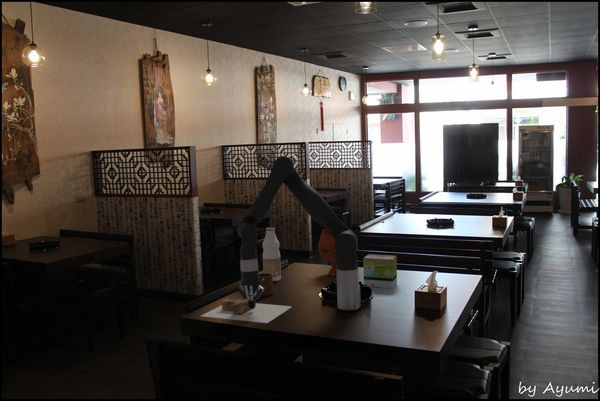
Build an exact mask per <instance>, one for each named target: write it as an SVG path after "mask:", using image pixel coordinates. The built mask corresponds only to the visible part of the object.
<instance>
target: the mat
mask: <svg viewBox="0 0 600 401" xmlns="http://www.w3.org/2000/svg"><path fill="white" fill-rule="evenodd" d="M291 308H293V306H290V305H280V304H279V305H278V304H270V303H268V304H267V303H257V302H256V307H255V308H254V309H251V310H249V311H248V312H246V313H244V314H242V315H235V314H233V311H226V310H222V304H221V305H219V306H217V307H216V308H214V309H211V310H209V311H208V312H205V313H204V314H202V315H200V317H201V318H202V317H206V318H212V319H213V318H215V319H225V320H233V321H234V320H235V321H243V322H253V323H262V324H263V323H264V324H268V323H270V322H271V321H273V320H275V319H276V318H277V317H279V316H281V315H282V314H284V313H285V312H286V311H288V310H289V309H291Z"/></svg>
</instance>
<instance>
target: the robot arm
mask: <svg viewBox="0 0 600 401" xmlns="http://www.w3.org/2000/svg"><path fill="white" fill-rule="evenodd" d="M294 166H295V164H294V162H293V160H292V159H291V158H290V157H288V156H286V155H281V156H280V155H279V157H276V159H274V161H273V163H272V167H271V170H270V173H269V175H268V177H267V179H266V181H265V183H264V185H263V187H262V189H261V190H260V192H259V194H258V195H257V197H256V198H255V199H254V201H253V203H252V205H251V207H250V208H249V211H248V212H247V213H246V215H245V216H244V217H242V220H241V221H240V222H239V224H238V227H237V229H236V231H237V235H238V237H240V238H241V246H240V248H239V253H240V254H239V255H240V263H239V264H240V276H241V278H240V279H241V282H240V286H237V288H236V290H237V292H239V294H240V295H241V296H242V298H243V299H247V300H248V306H249V308H250V309H254V308H255V307H256V303H257V302H256V300H258V299H259V298H260V297H262V296H261V294H262V293H263V291H264V290H265V288H264V287H261V286H260V283H259V263H258V253H257V242H258V232H257V228H256V227H257V225H258V224H259V222H262V221H263V220H264V219H265V216H266V215H267V213H268V211H269V209H270V208H271V206H272V204H273V201H274V199H275V197H276V195H277V193H278V191H279V190H280V188H281V186H282V184H284V186H285V187H286V188H288V189H289V191H290V192H291V193H292V195H293V196H294V197H295V199H296V200H297V202H298V203H299V204H300V206H302V208H303V209H304V210H305V211H306V213H307V214H308V215H309V216H310V217H311V218H312V219H313V220H314V221H316V222H317V223H318V224H319V225H321V226H322V227H323V228H324V229H327V230H328V231H329V233H330V234H331V235H332V236H333V238H334V239H335V260H336V268H337V276H336V291H337V292H336V293H337V294H336V295H337V309H338V310H342V311H354V310H355V311H357V310H358V309H359V308H361V307H362V306H361V286H360V285H361V284H359V262H358V252H357V250H358V249H357V247H358V242H359V239H358V237H357V235H356V234H355V232H354V231H353V230H351V229H350V227H348V226H347V225H346V223H344V222H343V221H342V220H341V219H340V218H339V216H338V215H337V214H336V212H335V211H334V209H333V208H332V207H331V206H330V205H329V204H328V202H327V201H326V200H325V199H324V197H323V196H322V195H321V193H319V192H318V191H317V190H316V189H315V188H313V187H312V186H311V185H310V184H309V183H307V182H306V181H305V180H304V179H303V178H302V177H301V175H300V174H299V173H298V172H297V170H296V168H295V167H294Z"/></svg>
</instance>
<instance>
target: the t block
mask: <svg viewBox="0 0 600 401" xmlns="http://www.w3.org/2000/svg"><path fill="white" fill-rule="evenodd" d="M221 305H222V310H226V311H233V314H235V315H242V314H244V313H246V312H248V311H249V310H251V309H250V308H249V306H248V300H247V299H244V298H243V299H234V298H233V299H231V298H226V299H223V300H221Z"/></svg>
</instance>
